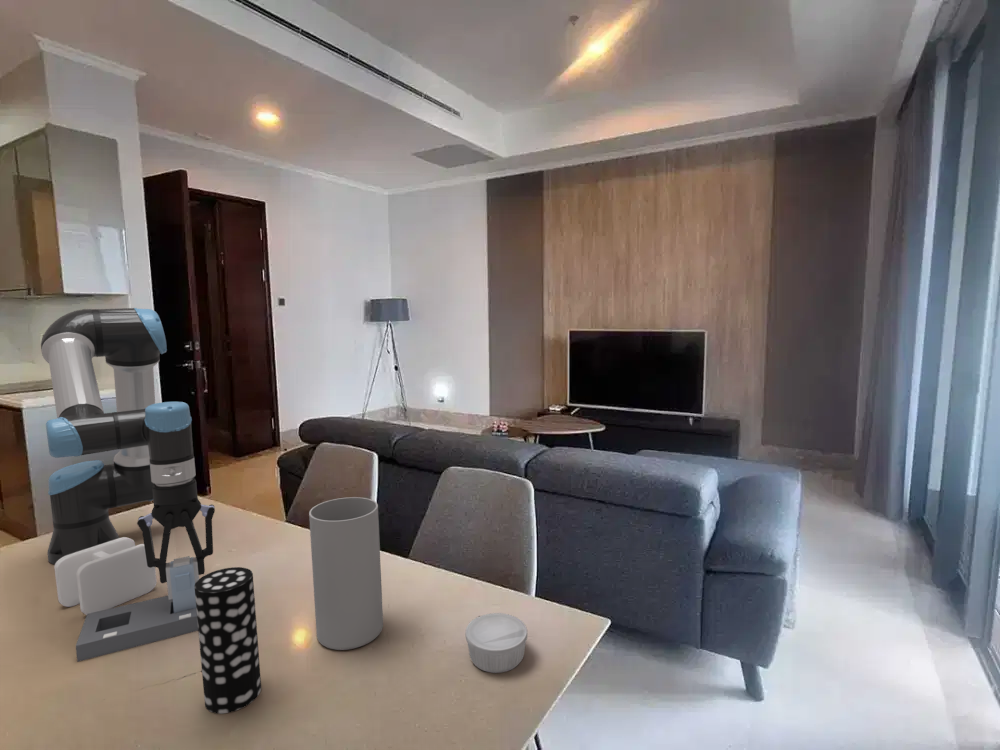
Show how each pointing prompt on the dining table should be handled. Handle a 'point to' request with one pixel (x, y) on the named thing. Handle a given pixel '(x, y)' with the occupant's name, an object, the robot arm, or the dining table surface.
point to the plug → (183, 584)
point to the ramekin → (496, 642)
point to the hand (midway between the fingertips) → (184, 592)
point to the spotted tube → (228, 639)
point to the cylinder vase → (346, 572)
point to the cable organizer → (104, 575)
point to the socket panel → (132, 627)
